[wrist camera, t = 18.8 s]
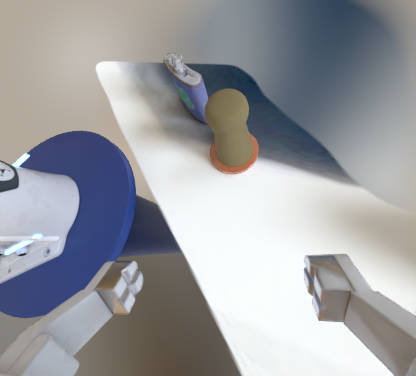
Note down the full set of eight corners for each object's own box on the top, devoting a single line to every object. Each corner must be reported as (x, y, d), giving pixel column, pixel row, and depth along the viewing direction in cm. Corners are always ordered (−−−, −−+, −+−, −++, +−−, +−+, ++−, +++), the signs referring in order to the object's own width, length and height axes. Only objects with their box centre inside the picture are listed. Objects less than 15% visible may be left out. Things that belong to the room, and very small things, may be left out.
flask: (217, 118, 34) (201, 65, 24) (205, 128, 34) (184, 79, 24) (189, 93, 37) (165, 37, 27) (178, 102, 37) (150, 49, 27)
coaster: (228, 183, 29) (227, 182, 29) (202, 149, 33) (201, 148, 32) (269, 154, 29) (269, 152, 29) (239, 123, 32) (238, 121, 32)
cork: (209, 149, 31) (187, 103, 21) (236, 127, 31) (228, 70, 21) (231, 174, 29) (219, 135, 19) (261, 150, 29) (264, 98, 19)
